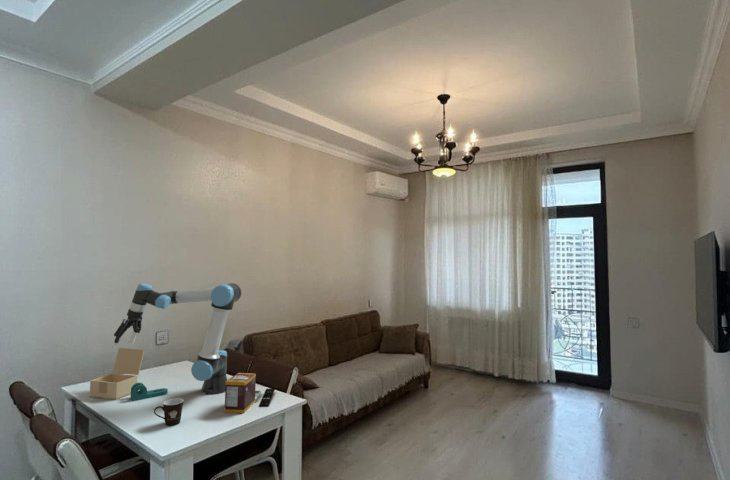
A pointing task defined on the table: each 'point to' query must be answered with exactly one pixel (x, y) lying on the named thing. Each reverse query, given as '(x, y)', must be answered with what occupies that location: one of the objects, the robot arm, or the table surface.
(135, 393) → the bracket
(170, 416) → the coffee mug
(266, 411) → the table surface
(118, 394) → the carton
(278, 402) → the table surface
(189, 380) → the table surface
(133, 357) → the carton lid
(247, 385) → the supplement box
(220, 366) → the robot arm
